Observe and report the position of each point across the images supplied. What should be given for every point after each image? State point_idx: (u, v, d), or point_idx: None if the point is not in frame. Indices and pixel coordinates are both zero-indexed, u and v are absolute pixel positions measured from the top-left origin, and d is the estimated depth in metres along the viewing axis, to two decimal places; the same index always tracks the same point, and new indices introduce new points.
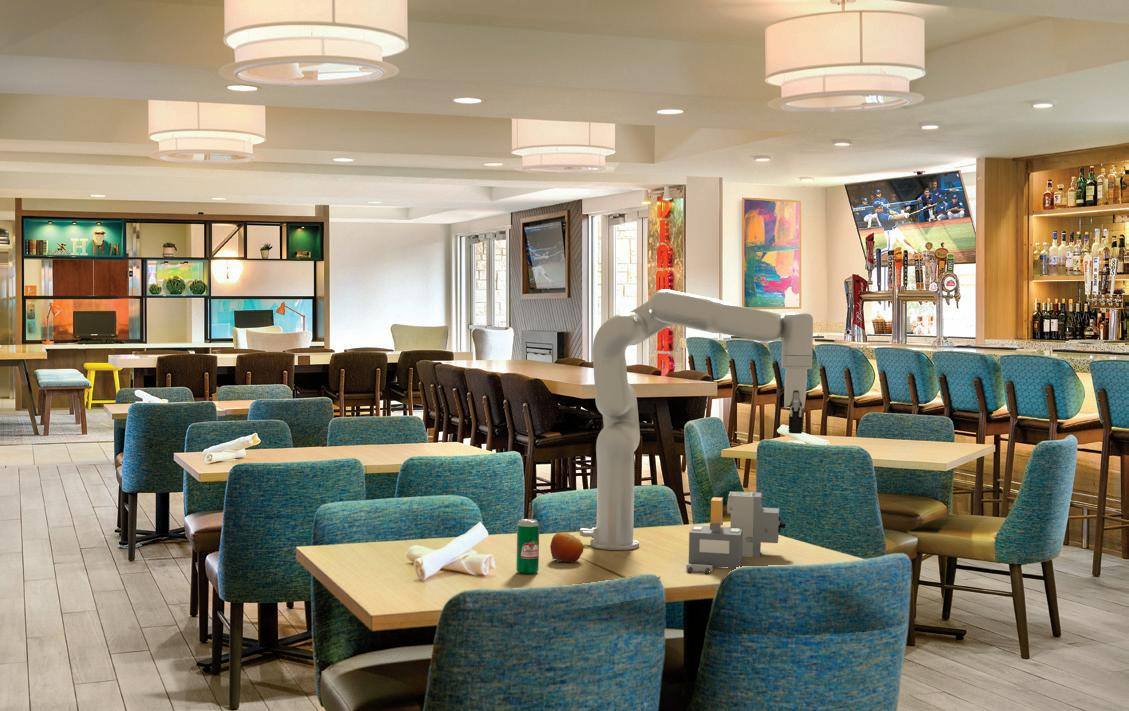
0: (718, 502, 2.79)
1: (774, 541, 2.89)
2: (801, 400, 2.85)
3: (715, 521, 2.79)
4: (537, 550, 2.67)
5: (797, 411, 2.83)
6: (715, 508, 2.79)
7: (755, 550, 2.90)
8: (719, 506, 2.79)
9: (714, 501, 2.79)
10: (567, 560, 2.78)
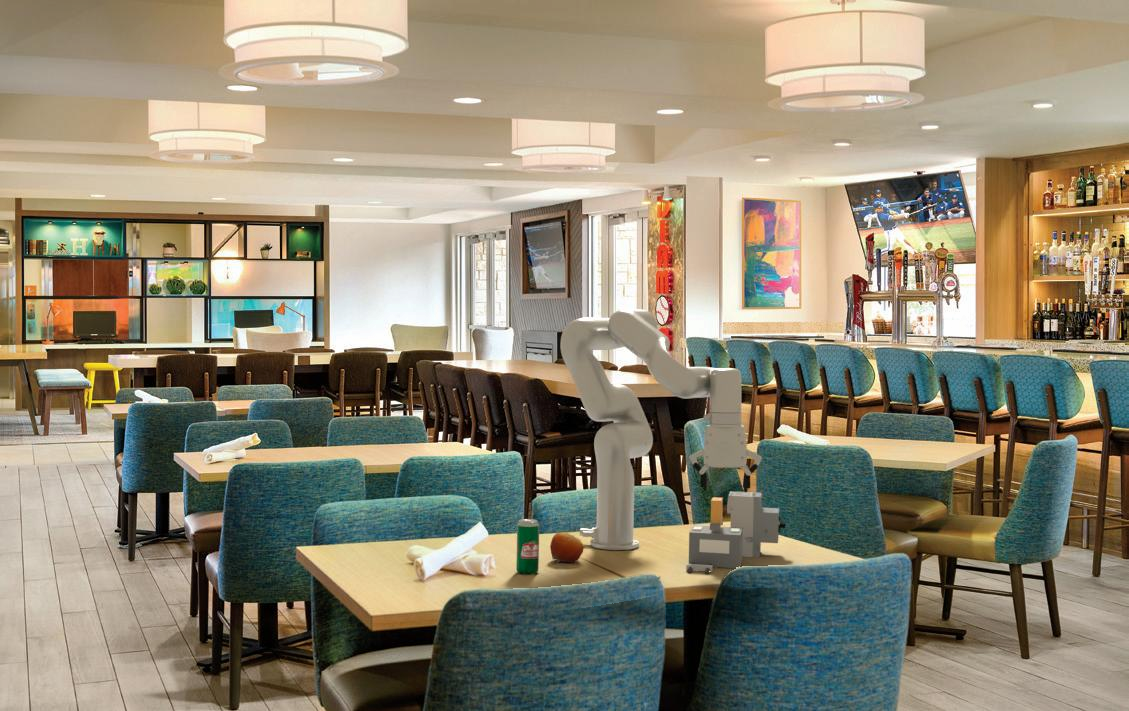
0: (718, 502, 2.79)
1: (774, 541, 2.89)
2: None
3: (715, 521, 2.79)
4: (537, 550, 2.67)
5: None
6: (715, 508, 2.79)
7: (755, 550, 2.90)
8: (719, 506, 2.79)
9: (714, 501, 2.79)
10: (567, 560, 2.78)
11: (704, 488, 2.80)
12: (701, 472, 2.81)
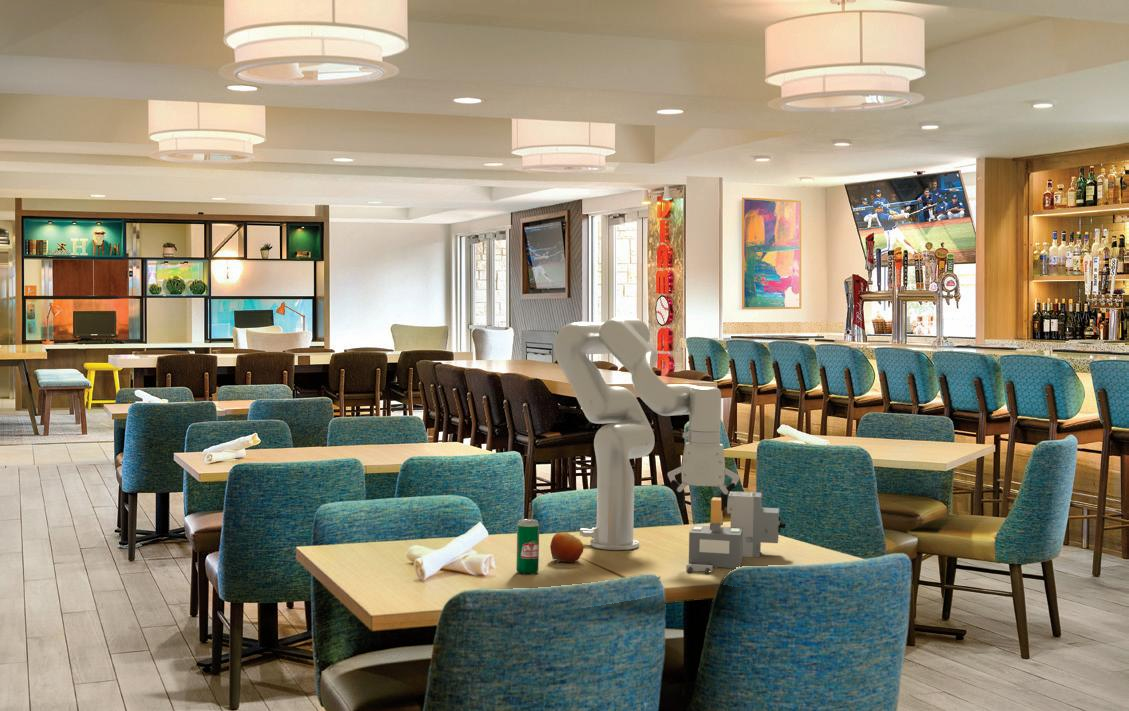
0: (718, 502, 2.79)
1: (774, 541, 2.89)
2: None
3: (715, 521, 2.79)
4: (537, 550, 2.67)
5: None
6: (715, 508, 2.79)
7: (755, 550, 2.90)
8: (719, 506, 2.79)
9: (714, 501, 2.79)
10: (567, 560, 2.78)
11: (681, 505, 2.82)
12: (679, 489, 2.82)
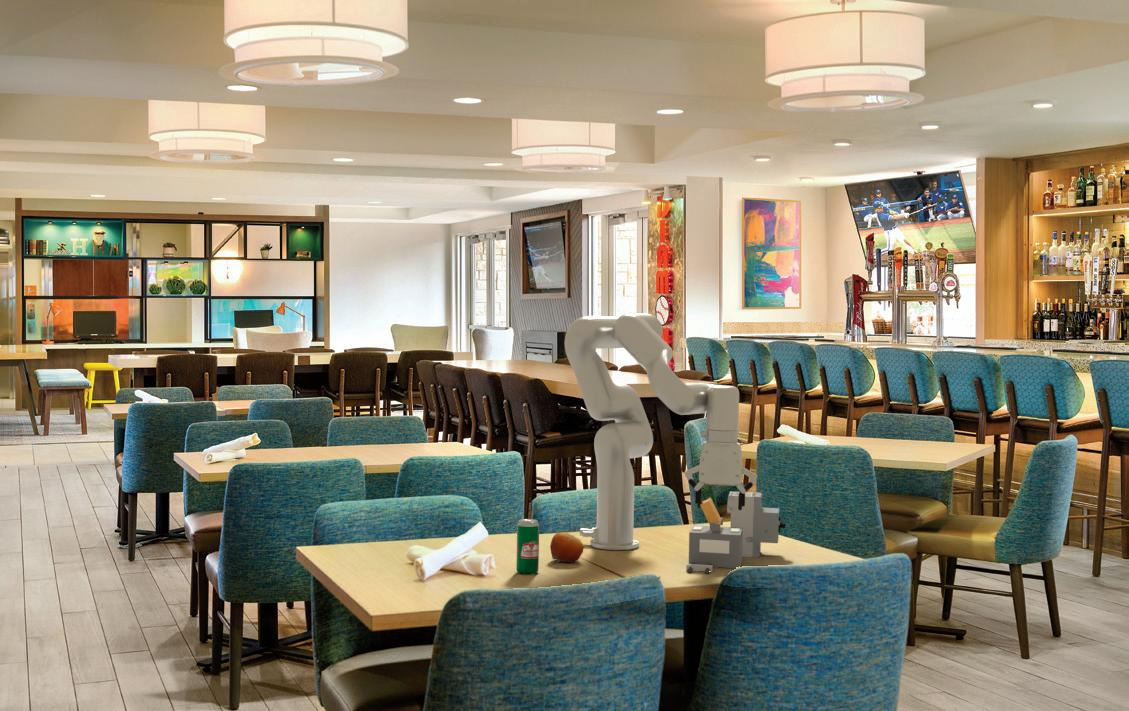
0: (707, 503, 2.79)
1: (774, 541, 2.89)
2: None
3: (713, 521, 2.79)
4: (537, 550, 2.67)
5: None
6: (707, 509, 2.79)
7: (755, 550, 2.90)
8: (710, 506, 2.79)
9: (703, 504, 2.80)
10: (567, 560, 2.78)
11: (698, 504, 2.81)
12: (696, 488, 2.81)
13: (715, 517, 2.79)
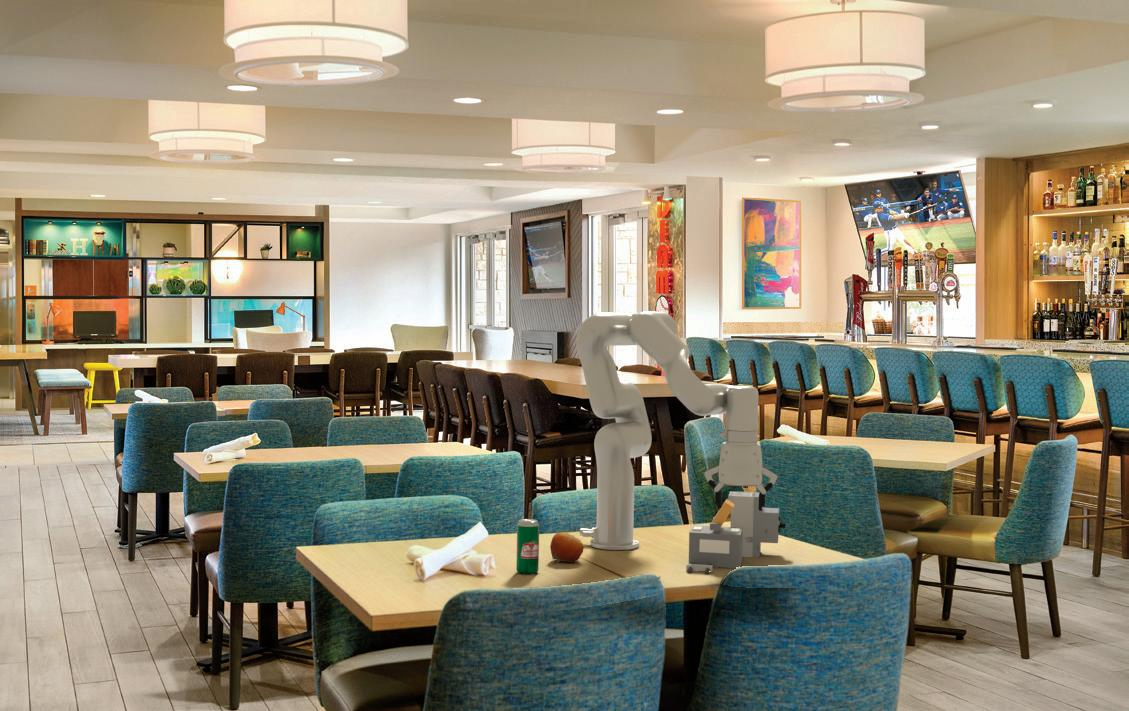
0: (730, 507, 2.78)
1: (774, 541, 2.89)
2: None
3: (717, 522, 2.79)
4: (537, 550, 2.67)
5: None
6: (724, 511, 2.79)
7: (755, 550, 2.90)
8: (729, 511, 2.78)
9: (727, 504, 2.78)
10: (567, 560, 2.78)
11: (719, 505, 2.80)
12: (716, 489, 2.80)
13: (722, 521, 2.79)
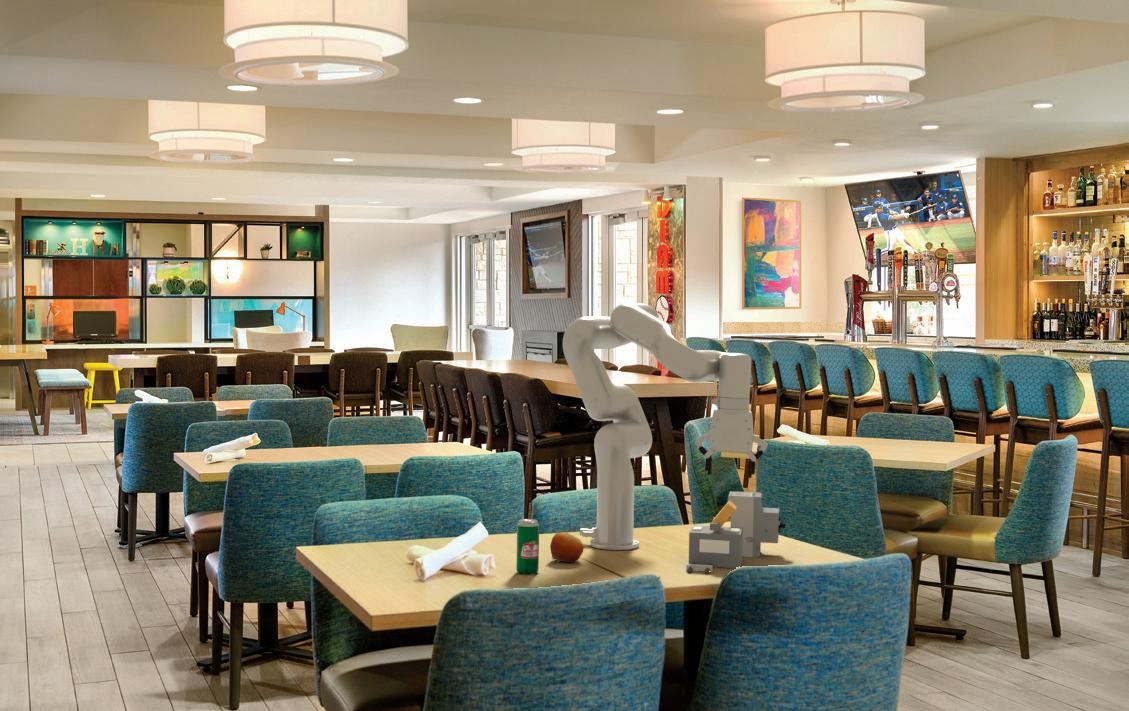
0: (732, 509, 2.78)
1: (774, 541, 2.89)
2: None
3: (718, 522, 2.79)
4: (537, 550, 2.67)
5: None
6: (726, 512, 2.78)
7: (755, 550, 2.90)
8: (730, 513, 2.78)
9: (729, 506, 2.78)
10: (567, 560, 2.78)
11: (708, 472, 2.80)
12: (706, 456, 2.81)
13: (723, 522, 2.79)
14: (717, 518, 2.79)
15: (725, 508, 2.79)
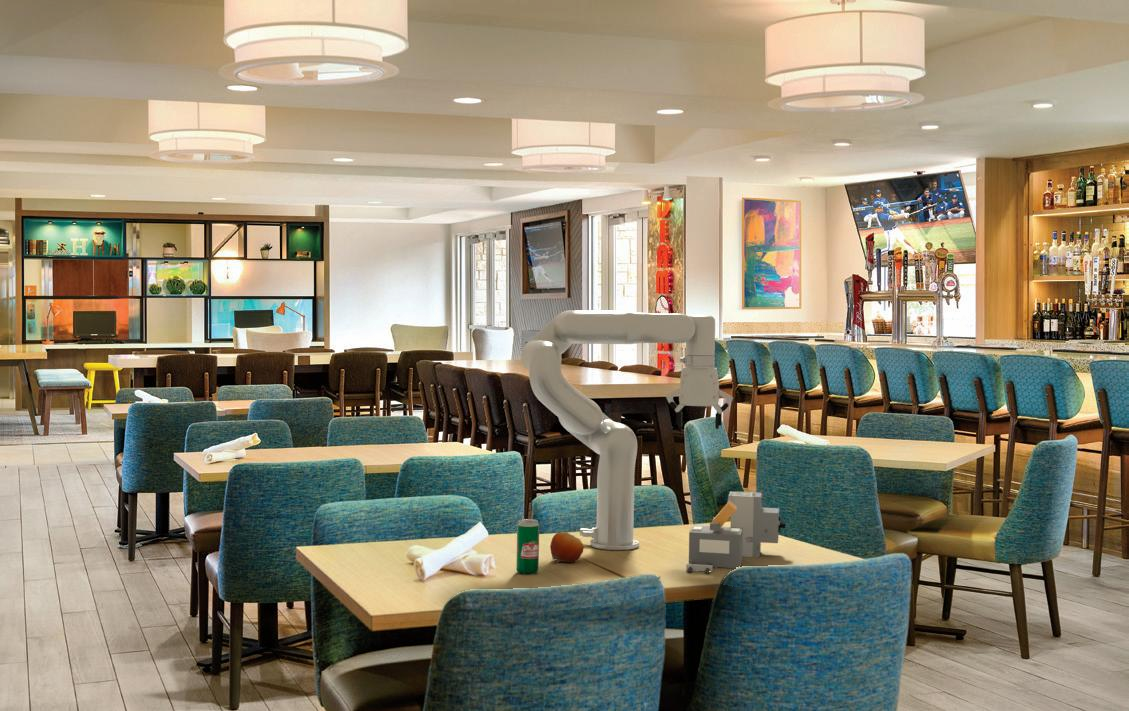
0: (732, 509, 2.78)
1: (774, 541, 2.89)
2: None
3: (718, 522, 2.79)
4: (537, 550, 2.67)
5: None
6: (726, 512, 2.78)
7: (755, 550, 2.90)
8: (730, 513, 2.78)
9: (730, 506, 2.78)
10: (567, 560, 2.78)
11: (679, 425, 3.05)
12: (676, 410, 3.06)
13: (723, 522, 2.79)
14: (717, 518, 2.79)
15: (725, 508, 2.79)
